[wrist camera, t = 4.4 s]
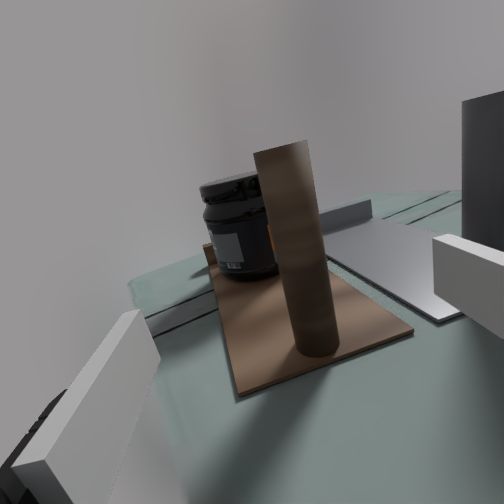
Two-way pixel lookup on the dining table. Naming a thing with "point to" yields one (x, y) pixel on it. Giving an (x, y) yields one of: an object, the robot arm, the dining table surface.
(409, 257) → the grey l-shaped stand
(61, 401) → the robot arm
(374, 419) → the dining table surface
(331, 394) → the dining table surface
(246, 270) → the supplement container
